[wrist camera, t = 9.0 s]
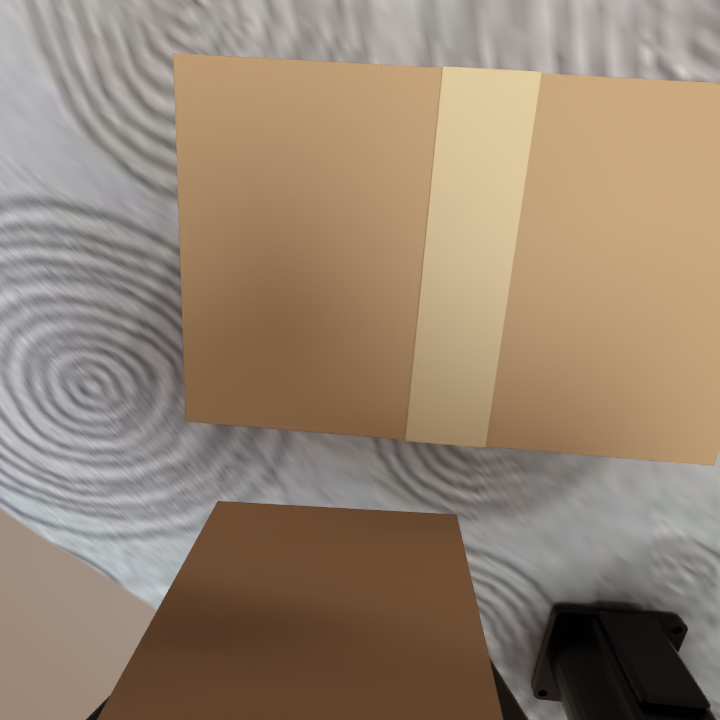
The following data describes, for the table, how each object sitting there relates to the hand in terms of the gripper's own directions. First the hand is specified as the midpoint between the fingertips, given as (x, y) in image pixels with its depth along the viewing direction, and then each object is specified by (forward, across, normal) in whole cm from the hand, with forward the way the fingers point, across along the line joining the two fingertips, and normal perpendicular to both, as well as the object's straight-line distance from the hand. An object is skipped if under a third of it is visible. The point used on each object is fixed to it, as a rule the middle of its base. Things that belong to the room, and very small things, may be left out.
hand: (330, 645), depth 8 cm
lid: (+7, -3, -6) cm, 10 cm away
